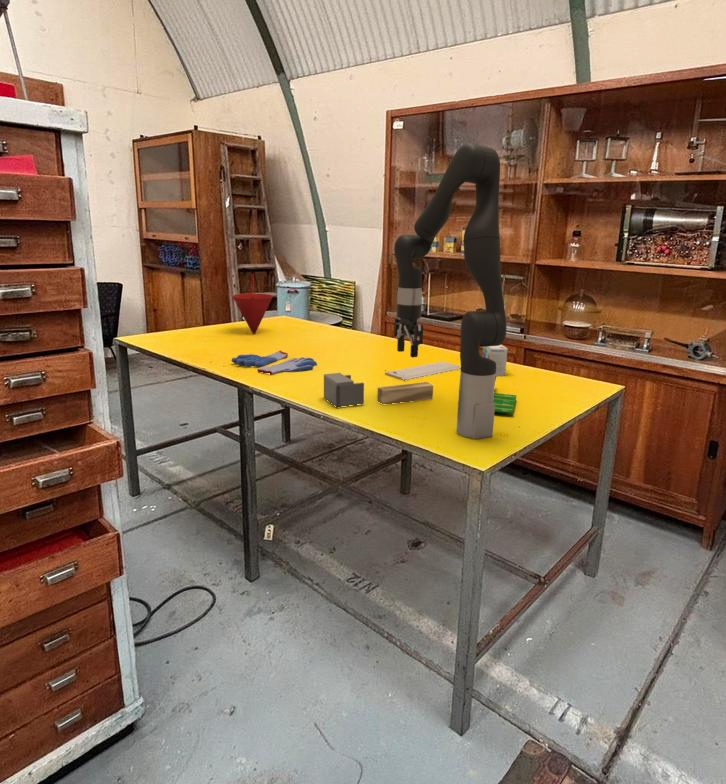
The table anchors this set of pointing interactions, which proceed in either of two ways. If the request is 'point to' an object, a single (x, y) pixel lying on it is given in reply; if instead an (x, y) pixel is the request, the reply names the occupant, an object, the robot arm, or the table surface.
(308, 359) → the pair of gloves
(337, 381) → the end cap
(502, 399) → the electronic board model
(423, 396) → the slat
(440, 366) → the baseboard molding
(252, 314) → the fire bucket
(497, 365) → the light bulb box
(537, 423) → the table surface
